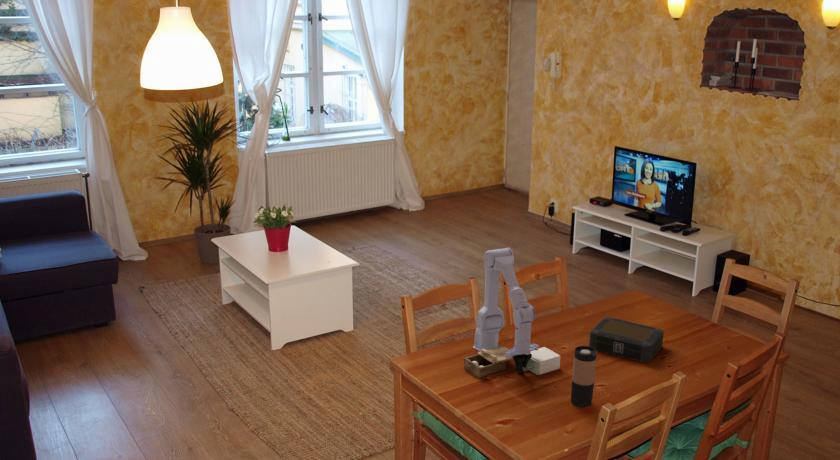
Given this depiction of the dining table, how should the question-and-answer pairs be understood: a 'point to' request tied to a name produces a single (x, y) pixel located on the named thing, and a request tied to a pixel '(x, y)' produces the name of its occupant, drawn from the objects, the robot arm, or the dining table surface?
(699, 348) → the dining table surface
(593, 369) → the travel mug
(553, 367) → the white cabinet
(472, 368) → the walnut box
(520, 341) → the robot arm
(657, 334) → the cash box
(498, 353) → the box lid
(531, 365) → the drawer
